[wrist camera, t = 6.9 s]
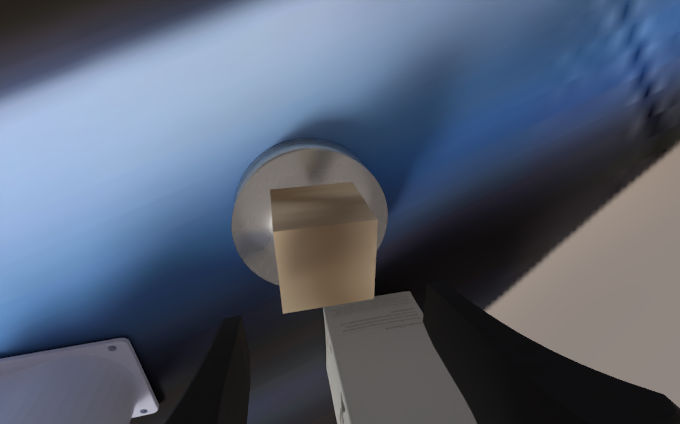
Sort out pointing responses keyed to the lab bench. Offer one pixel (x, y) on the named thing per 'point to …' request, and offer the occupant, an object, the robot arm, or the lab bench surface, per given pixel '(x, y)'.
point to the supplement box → (388, 365)
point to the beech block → (323, 245)
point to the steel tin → (286, 172)
